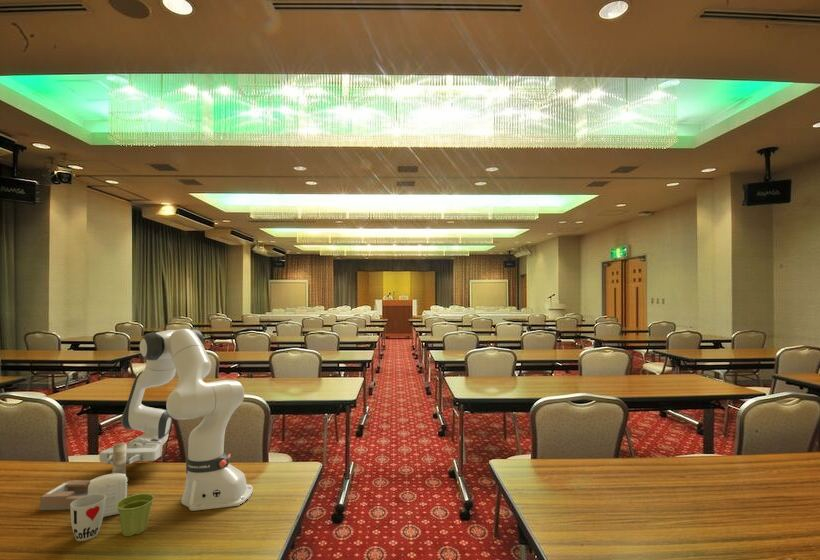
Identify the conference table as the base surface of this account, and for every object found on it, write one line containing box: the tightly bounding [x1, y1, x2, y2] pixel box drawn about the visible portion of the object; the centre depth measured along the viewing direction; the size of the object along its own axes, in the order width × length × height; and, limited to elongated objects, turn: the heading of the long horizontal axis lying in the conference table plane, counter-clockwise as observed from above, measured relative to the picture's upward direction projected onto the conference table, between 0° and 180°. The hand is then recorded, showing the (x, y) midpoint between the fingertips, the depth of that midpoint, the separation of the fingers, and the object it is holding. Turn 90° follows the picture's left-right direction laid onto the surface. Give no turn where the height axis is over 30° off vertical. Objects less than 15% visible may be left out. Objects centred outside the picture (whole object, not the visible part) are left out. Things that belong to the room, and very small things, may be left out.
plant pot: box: [116, 492, 155, 537], centre depth 124 cm, size 9×9×9 cm
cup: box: [69, 494, 106, 542], centre depth 121 cm, size 8×8×10 cm
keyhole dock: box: [39, 479, 91, 511], centre depth 142 cm, size 16×12×4 cm
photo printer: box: [88, 473, 128, 518], centre depth 133 cm, size 10×4×12 cm, turn 123°
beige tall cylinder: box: [112, 442, 130, 483], centre depth 155 cm, size 6×6×14 cm
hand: (118, 461), depth 155 cm, fingers open, 5 cm apart
